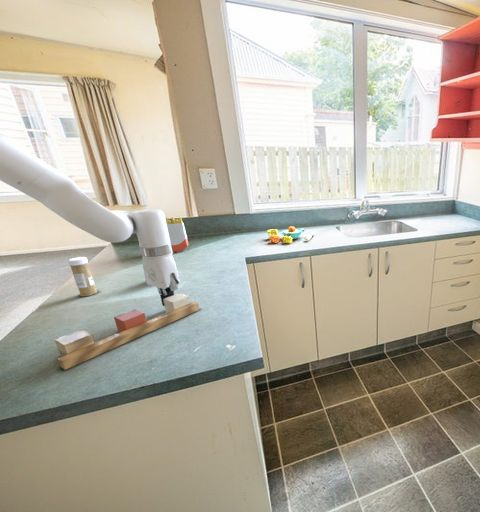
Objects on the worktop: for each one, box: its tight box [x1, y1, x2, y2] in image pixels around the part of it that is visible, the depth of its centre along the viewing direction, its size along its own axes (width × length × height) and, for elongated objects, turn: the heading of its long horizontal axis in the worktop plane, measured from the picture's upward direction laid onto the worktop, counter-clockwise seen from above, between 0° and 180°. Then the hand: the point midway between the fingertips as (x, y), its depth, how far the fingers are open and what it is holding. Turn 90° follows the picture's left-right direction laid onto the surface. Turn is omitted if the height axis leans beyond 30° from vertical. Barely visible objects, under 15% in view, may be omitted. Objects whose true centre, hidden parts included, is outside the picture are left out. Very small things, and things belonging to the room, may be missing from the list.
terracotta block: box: [113, 309, 148, 333], centre depth 83 cm, size 5×5×5 cm
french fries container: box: [165, 216, 189, 253], centre depth 153 cm, size 5×11×18 cm, turn 114°
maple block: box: [54, 329, 95, 357], centre depth 72 cm, size 5×5×5 cm
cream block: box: [163, 292, 192, 314], centre depth 93 cm, size 5×5×5 cm
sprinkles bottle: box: [67, 256, 98, 297], centre depth 103 cm, size 5×5×13 cm
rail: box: [57, 301, 200, 371], centre depth 82 cm, size 32×2×2 cm, turn 155°
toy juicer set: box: [266, 225, 316, 244], centre depth 178 cm, size 29×18×8 cm, turn 109°
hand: (169, 304), depth 96 cm, fingers closed
